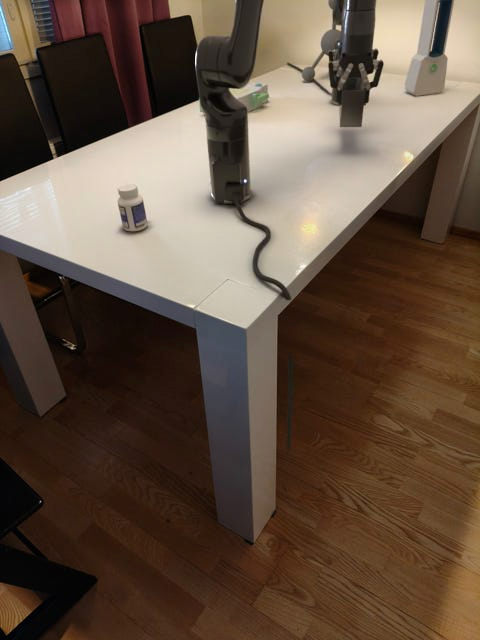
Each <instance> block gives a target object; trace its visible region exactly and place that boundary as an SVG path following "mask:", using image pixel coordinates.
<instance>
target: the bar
mask: <svg viewBox="0 0 480 640" xmlns="http://www.w3.org/2000/svg"><path fill="white" fill-rule="evenodd" d="M342 74H343V71H342ZM342 74H341V76H342ZM364 99H365V86H364V82H363V78H362V77H352V78H347V80H346V82H345V83H344V85H343V87H342V102H341V105H338V111H339V112H338V114H339V115H338V116H339V117H338V118H339V128H362V126H363V117H364V108H365V105H364Z"/></svg>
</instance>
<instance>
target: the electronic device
mask: <svg viewBox="0 0 480 640" xmlns="http://www.w3.org/2000/svg"><path fill="white" fill-rule="evenodd" d="M454 5H455V0H424V6H423V11H422V17H421V24H420V31H419V32H420V33H419V37H418V43H417V44H418V45H417V51H416V53H415V54H414V55H413V57H411V60H410V64H409V66H408V71H407V75H406V78H405V81H404V90H405V91H406V93H408V94H411V95H413V96H415V97H418V96H425V95H435V94H441V93H442V92H443V91H444V89H445V85H446V76H447V67H448V59H449V58H448V57H447V55H446V54H445V51H446V47H447V42H448V37H449V32H450V25H451V21H452V16H453V9H454Z"/></svg>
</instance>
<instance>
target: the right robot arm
mask: <svg viewBox="0 0 480 640" xmlns="http://www.w3.org/2000/svg"><path fill="white" fill-rule="evenodd" d="M345 7H346V0H333V10H332V12H331V13H332V14H331V15H332V21H333V23H334V24H335V25H336V26H340V31H341V37H340V38H338V39H336V41H335V50H329V52H328V55H329V56H328V62H329V61H332V62H333V61H338V60H339V59H340V57H341V49H342V35H343V21H344V15H345V10H346V9H345ZM378 57H379V49H378V48H372V58H373V59H374V60H378ZM286 64H287V65H288V66H290V67H292V68H294V69H296V70H297V71H300V72H301V73H302V71H303V70H304V69H302V68H300V67H299V66H296V65H295V64H293V63H290V62H287V63H286ZM342 71H343V70H342V69H341V67H340V66H339V65H338V66H337V69H336V70H335V71H334V77H335V82H337V83H339V80H340V78H341V74H342ZM374 71H375V69H374V65H373V64H372V65H371V67H370V68H369V69H368V70H367V72H366V74H367V76H368V75H372V74H373V73H374ZM312 81H313V82H314V83H315V85H316V86H318V87H319V88H320V89H321V90H323V91H324V92H325V93H326V94H328V95H329V96H331V98H330V103H331V104H333V105H335V106H339V103H337V102H336V96H337V90H336V89H335V88H331V93H330V92H329V90H328V89H327V88H326V87H324V86H323V85H322V84H320V83H319V81H317V80H316V79H315V78H314V79H313V80H312ZM364 86H365V85H364Z"/></svg>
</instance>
